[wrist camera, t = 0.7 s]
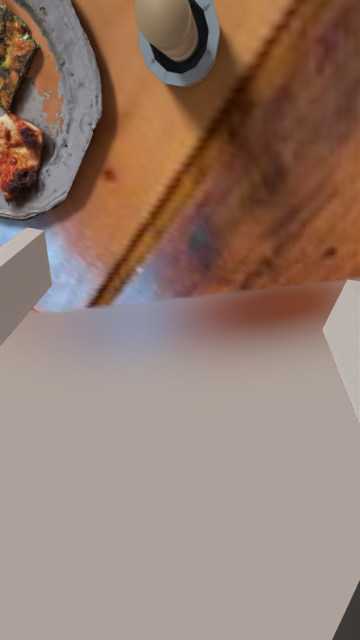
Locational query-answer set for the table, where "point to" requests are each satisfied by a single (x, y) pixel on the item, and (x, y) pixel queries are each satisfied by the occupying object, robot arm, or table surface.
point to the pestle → (169, 28)
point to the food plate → (25, 114)
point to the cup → (206, 56)
